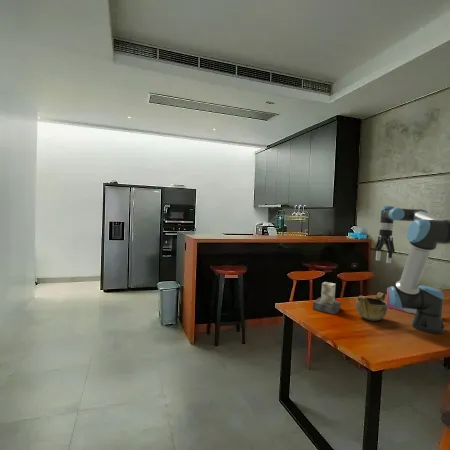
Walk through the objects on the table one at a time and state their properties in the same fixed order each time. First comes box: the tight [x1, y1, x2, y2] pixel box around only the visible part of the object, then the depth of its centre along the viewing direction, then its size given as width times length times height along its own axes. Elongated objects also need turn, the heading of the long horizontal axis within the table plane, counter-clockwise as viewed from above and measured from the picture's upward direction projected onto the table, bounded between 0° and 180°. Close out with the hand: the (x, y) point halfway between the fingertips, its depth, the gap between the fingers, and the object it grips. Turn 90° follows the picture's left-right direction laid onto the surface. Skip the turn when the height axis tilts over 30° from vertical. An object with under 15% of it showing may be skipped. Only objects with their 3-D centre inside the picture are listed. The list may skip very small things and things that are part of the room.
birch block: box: [320, 281, 337, 304], centre depth 192 cm, size 7×7×12 cm
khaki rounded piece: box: [355, 291, 388, 322], centre depth 177 cm, size 22×17×15 cm
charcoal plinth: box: [312, 296, 342, 315], centre depth 192 cm, size 14×14×5 cm
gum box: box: [386, 285, 417, 315], centre depth 196 cm, size 24×8×14 cm, turn 46°
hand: (383, 261), depth 195 cm, fingers open, 13 cm apart
